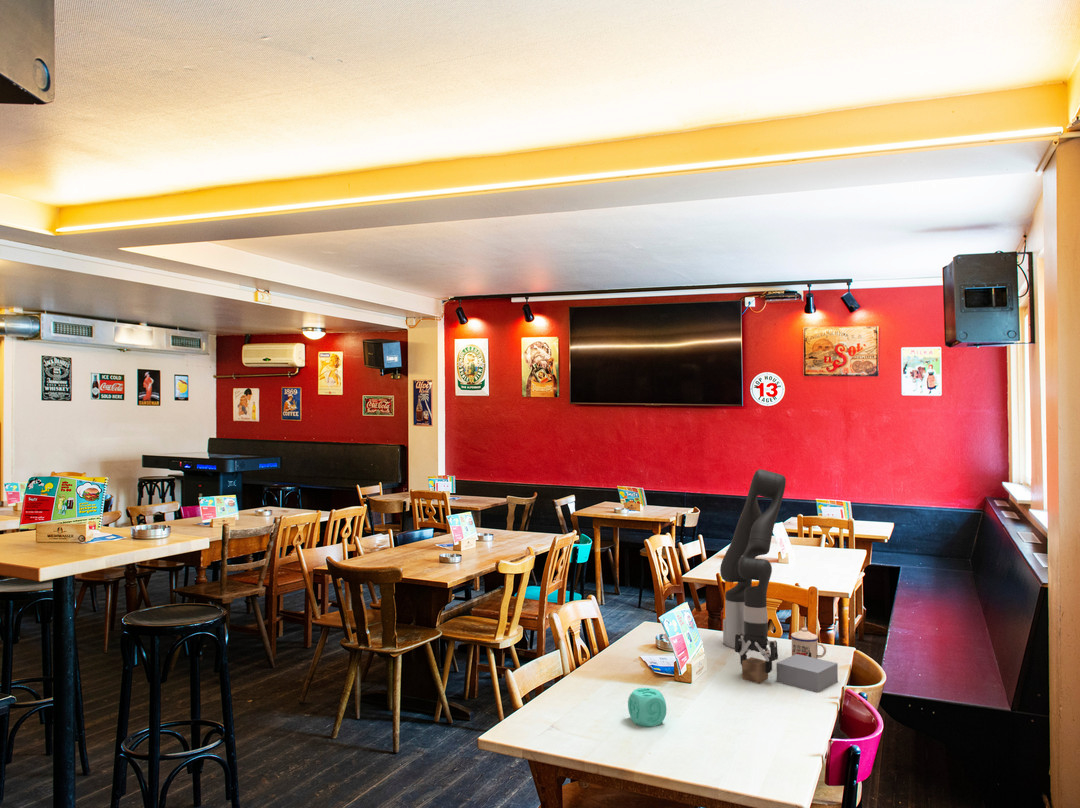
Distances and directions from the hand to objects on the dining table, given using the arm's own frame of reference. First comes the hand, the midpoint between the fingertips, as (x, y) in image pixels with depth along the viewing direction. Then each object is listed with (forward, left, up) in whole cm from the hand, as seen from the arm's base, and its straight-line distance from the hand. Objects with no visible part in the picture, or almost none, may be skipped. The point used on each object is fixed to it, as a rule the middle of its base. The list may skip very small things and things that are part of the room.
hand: (756, 669), depth 242 cm
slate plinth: (+13, +10, -3) cm, 16 cm away
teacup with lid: (+4, +30, -3) cm, 30 cm away
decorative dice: (-3, -54, -4) cm, 54 cm away
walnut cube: (0, 0, -3) cm, 3 cm away
